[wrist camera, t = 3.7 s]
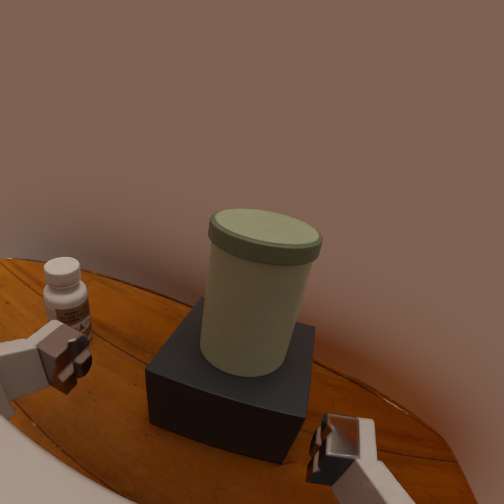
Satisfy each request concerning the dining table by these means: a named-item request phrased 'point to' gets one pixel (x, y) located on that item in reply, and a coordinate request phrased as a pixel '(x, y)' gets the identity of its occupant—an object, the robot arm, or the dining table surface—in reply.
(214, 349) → the lidded cream canister
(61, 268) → the pill bottle
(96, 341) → the dining table surface
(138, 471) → the dining table surface
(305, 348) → the dark grey square box
